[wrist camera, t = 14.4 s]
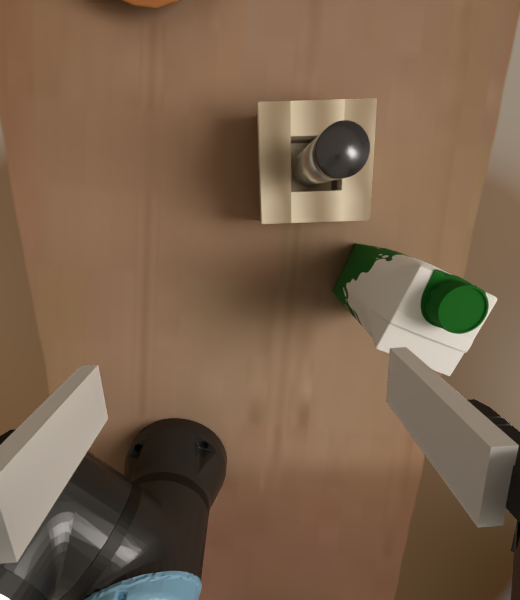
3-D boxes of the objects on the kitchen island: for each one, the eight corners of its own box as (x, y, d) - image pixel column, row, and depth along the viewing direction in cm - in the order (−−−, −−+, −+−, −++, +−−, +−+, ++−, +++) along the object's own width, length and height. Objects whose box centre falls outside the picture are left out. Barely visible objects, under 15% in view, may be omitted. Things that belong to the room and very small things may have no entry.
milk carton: (410, 258, 45) (528, 302, 26) (379, 318, 48) (466, 398, 29) (351, 233, 44) (429, 261, 25) (322, 296, 47) (373, 364, 27)
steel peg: (292, 186, 41) (316, 179, 26) (292, 150, 40) (317, 121, 25) (325, 184, 41) (368, 177, 26) (325, 149, 40) (371, 119, 25)
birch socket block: (260, 220, 43) (261, 224, 38) (256, 115, 40) (258, 101, 34) (354, 217, 44) (369, 220, 38) (358, 112, 40) (376, 98, 34)
